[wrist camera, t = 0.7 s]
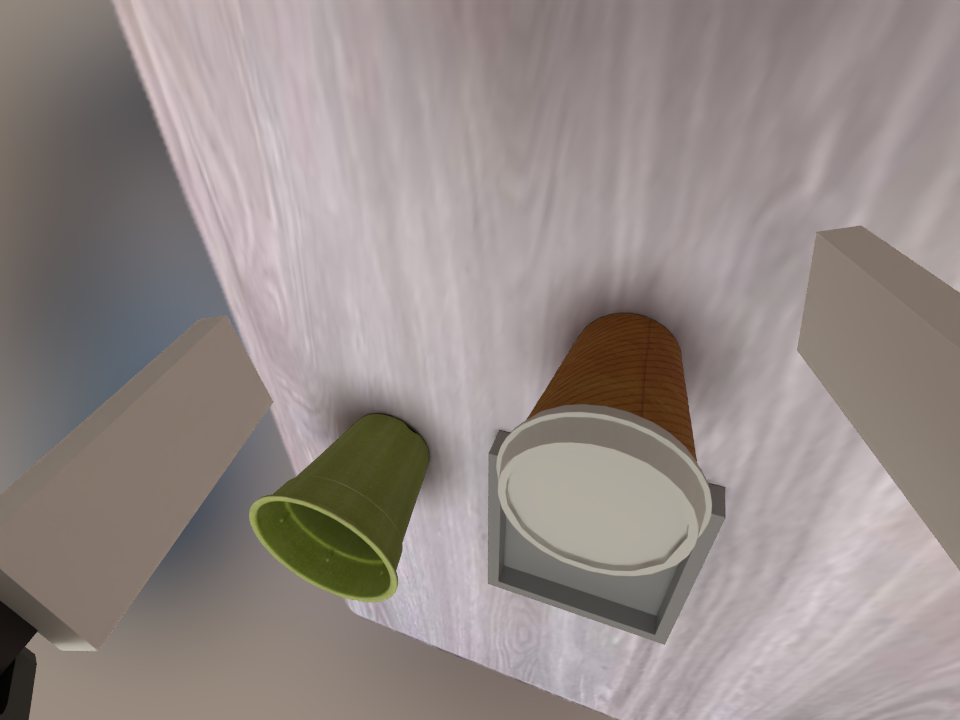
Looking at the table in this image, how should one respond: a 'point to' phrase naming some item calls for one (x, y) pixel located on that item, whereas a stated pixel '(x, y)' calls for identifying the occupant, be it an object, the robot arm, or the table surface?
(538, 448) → the disposable coffee cup
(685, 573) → the serving tray
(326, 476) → the plant pot
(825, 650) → the table surface
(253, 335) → the table surface
